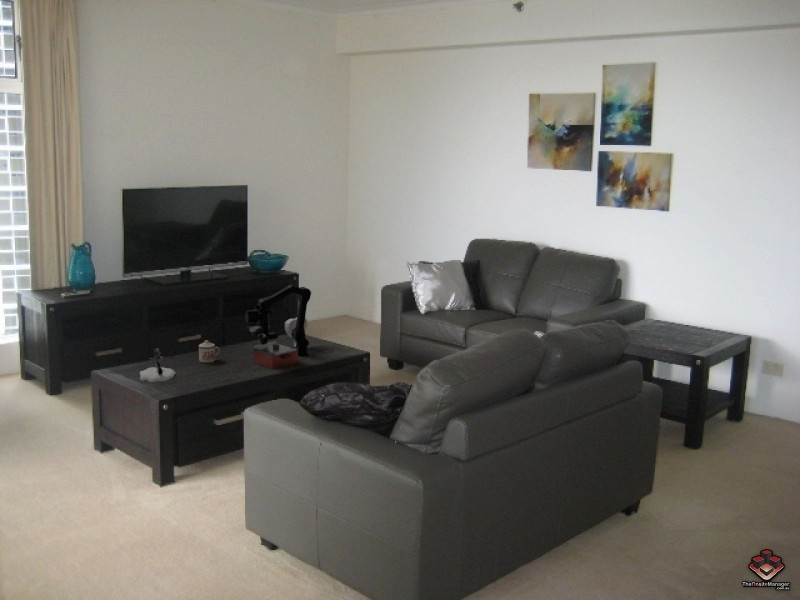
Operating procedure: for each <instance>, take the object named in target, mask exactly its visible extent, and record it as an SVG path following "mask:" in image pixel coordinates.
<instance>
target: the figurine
mask: <svg viewBox="0 0 800 600" xmlns="http://www.w3.org/2000/svg"><path fill="white" fill-rule="evenodd" d="M153 352H154V356H153V357H149V358H148V359H149V360H152V361H155V367H154V366H153V367H148V368H146V369H144V370H141V371H140V372H139V376H140V377H139V381H143V382H144V381H147V382H150V383H157V382H166V381H169V380H170V379H173V378H174V377H175V375H176V373H177V372H176V371H174V369H172V368H166V367H161V365H160V363H159V361H164V356H161V354H162V352H160V349H159V347H158V348H156V349H154V351H153Z"/></svg>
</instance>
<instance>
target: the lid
mask: <svg viewBox="0 0 800 600" xmlns="http://www.w3.org/2000/svg"><path fill="white" fill-rule="evenodd" d="M278 343H279V342H278V341H277V340H275V341H271V342H267V343H265V344H261V343H260V344H257V345H254V347H253V349H254V348H258V349H261V350H265V351H268V352H272V353H274V355H280V354H284V353H288V352H292V351H296V348H292V347H288V346H285V345H281V344H278Z"/></svg>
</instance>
